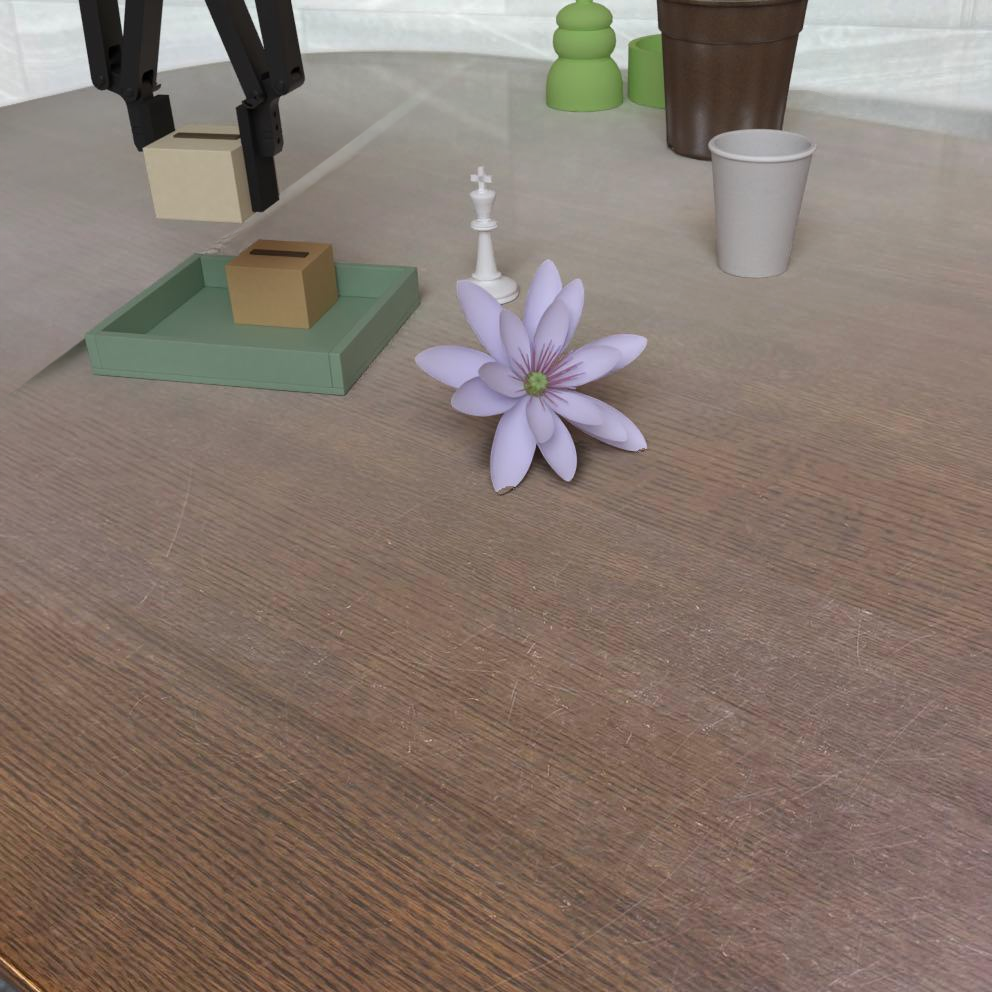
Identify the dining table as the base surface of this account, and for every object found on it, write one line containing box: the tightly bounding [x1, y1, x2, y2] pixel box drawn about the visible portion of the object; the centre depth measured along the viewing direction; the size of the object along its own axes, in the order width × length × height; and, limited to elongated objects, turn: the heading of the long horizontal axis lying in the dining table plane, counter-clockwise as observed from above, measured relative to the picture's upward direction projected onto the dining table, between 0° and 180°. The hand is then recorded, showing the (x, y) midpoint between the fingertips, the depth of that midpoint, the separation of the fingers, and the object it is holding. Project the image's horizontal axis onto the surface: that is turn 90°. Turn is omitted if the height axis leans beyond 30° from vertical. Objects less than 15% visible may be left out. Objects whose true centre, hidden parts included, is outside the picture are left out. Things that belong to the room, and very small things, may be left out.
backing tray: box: [83, 252, 421, 396], centre depth 88 cm, size 19×17×3 cm
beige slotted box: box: [142, 123, 281, 224], centre depth 78 cm, size 6×6×5 cm
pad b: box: [225, 238, 338, 329], centre depth 90 cm, size 6×6×5 cm
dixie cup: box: [708, 129, 818, 279], centre depth 96 cm, size 8×8×10 cm
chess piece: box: [455, 165, 520, 305], centre depth 92 cm, size 5×5×10 cm
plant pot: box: [656, 0, 809, 162], centre depth 125 cm, size 16×16×16 cm
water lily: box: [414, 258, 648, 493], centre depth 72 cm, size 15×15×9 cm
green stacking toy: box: [545, 0, 665, 113], centre depth 146 cm, size 25×14×13 cm, turn 101°
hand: (218, 202), depth 79 cm, fingers closed on beige slotted box, 6 cm apart
